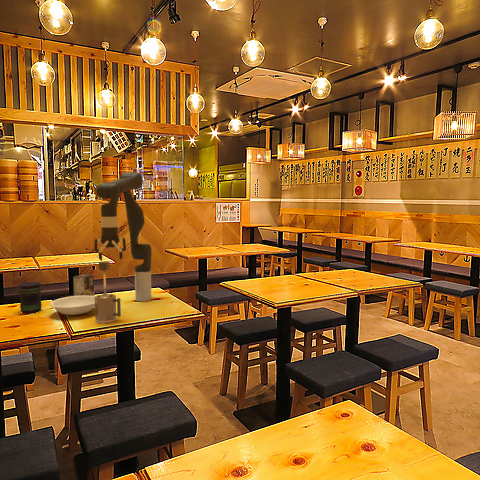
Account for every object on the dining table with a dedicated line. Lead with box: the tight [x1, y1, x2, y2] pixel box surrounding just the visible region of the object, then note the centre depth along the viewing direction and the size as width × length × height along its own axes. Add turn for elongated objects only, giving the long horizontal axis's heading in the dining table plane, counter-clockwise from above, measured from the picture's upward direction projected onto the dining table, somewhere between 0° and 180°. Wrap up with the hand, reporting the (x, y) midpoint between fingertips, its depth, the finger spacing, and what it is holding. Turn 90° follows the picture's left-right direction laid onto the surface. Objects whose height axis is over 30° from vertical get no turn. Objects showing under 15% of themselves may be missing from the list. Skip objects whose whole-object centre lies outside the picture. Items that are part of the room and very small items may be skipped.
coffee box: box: [72, 273, 95, 296], centre depth 219 cm, size 9×6×16 cm
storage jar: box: [19, 281, 42, 314], centre depth 203 cm, size 10×10×15 cm
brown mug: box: [94, 293, 122, 324], centre depth 189 cm, size 10×12×12 cm
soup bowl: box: [49, 295, 97, 316], centre depth 201 cm, size 24×24×7 cm
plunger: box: [98, 261, 112, 298], centre depth 187 cm, size 6×6×18 cm
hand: (110, 260), depth 184 cm, fingers open, 8 cm apart
